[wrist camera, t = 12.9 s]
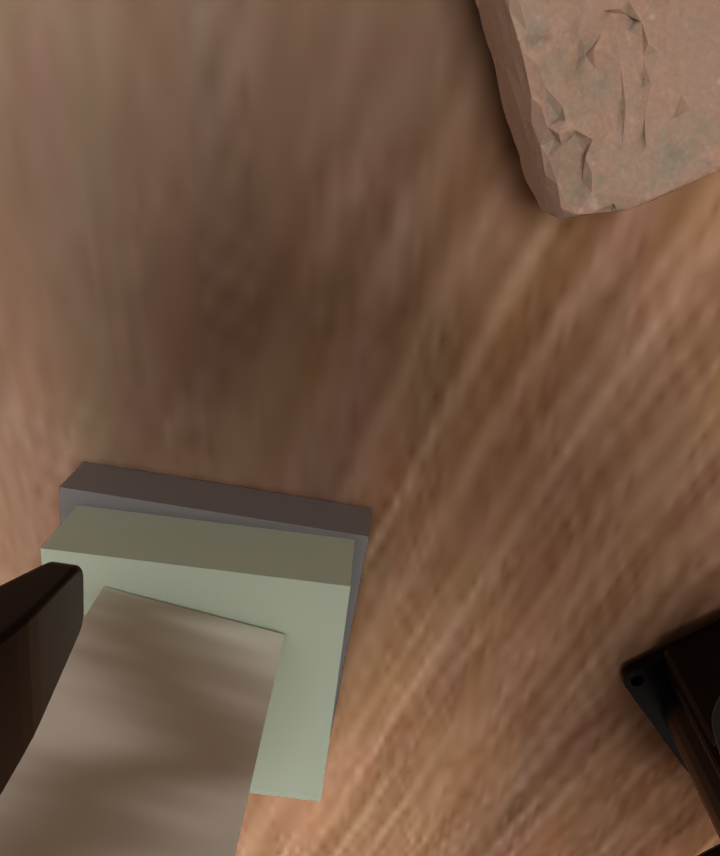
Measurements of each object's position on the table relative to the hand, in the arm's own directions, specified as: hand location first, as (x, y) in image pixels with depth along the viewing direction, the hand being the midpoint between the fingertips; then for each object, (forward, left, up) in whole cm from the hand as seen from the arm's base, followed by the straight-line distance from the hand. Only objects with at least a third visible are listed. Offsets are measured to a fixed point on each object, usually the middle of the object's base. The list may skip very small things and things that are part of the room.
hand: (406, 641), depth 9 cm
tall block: (-4, +11, -9) cm, 14 cm away
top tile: (-4, +11, -11) cm, 16 cm away
